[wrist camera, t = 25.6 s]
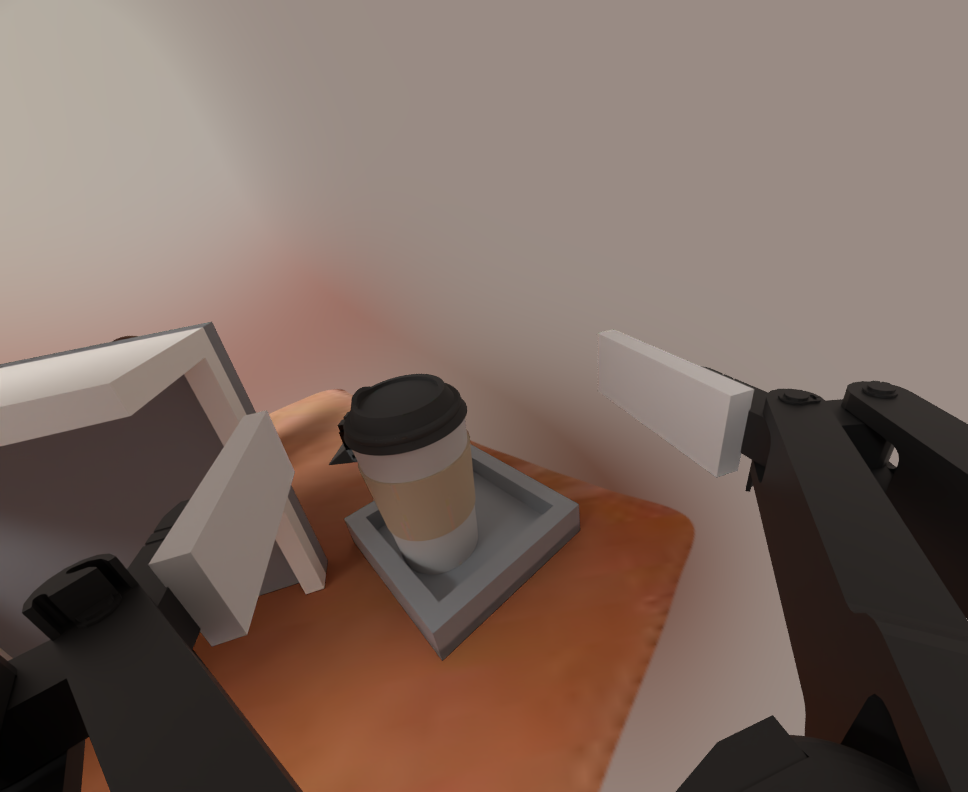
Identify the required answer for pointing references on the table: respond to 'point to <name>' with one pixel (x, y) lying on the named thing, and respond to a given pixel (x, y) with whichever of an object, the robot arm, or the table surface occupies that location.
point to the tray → (474, 552)
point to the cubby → (118, 461)
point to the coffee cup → (417, 467)
